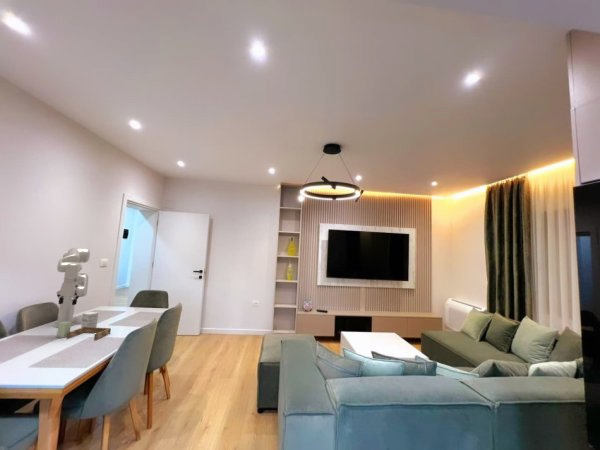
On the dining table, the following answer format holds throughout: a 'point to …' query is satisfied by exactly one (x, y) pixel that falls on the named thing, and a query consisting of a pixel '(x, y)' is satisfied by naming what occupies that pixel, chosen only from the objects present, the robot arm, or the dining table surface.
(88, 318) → the supplement box
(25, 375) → the dining table surface
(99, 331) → the wooden u-shaped frame
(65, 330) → the sage block
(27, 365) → the dining table surface
